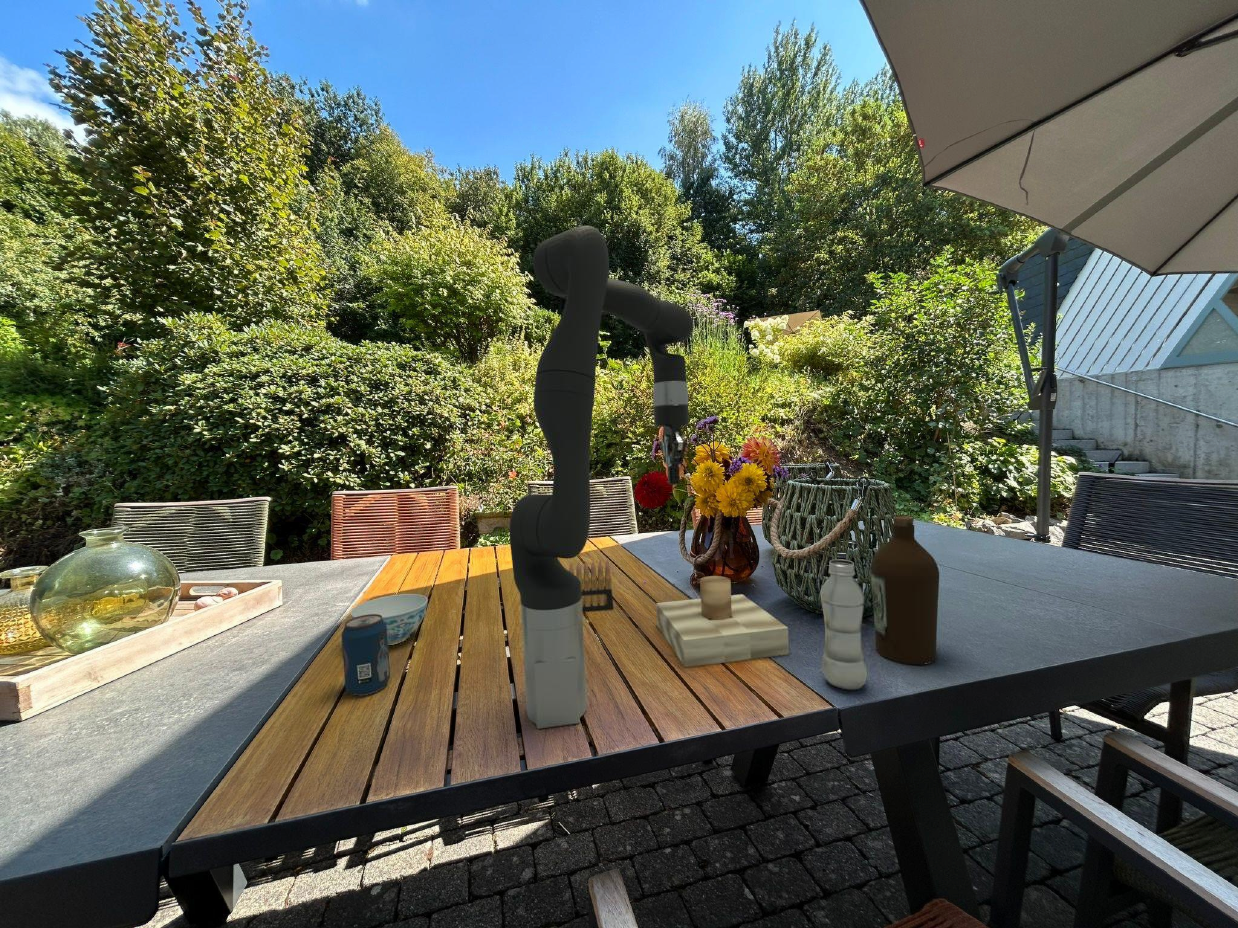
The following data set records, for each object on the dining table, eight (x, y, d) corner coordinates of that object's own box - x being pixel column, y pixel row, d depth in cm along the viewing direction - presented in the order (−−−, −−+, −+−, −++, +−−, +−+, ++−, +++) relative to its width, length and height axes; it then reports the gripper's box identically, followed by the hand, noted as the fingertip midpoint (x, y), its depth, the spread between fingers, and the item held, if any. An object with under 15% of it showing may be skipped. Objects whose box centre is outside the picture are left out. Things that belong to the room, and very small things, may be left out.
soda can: (349, 682, 85) (344, 616, 84) (392, 674, 87) (387, 610, 87) (342, 702, 79) (336, 630, 78) (388, 692, 81) (383, 623, 80)
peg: (737, 642, 94) (735, 583, 94) (708, 646, 93) (706, 585, 93) (725, 631, 100) (723, 574, 100) (698, 634, 99) (696, 577, 99)
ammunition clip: (612, 606, 118) (610, 559, 117) (613, 609, 116) (611, 560, 116) (569, 610, 117) (567, 561, 116) (569, 613, 115) (567, 563, 115)
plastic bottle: (842, 698, 73) (839, 569, 72) (813, 677, 80) (810, 559, 79) (877, 691, 75) (874, 565, 74) (845, 671, 81) (843, 555, 80)
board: (788, 654, 89) (788, 627, 88) (685, 667, 85) (683, 639, 85) (743, 615, 108) (742, 594, 108) (657, 625, 105) (656, 603, 105)
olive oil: (929, 643, 90) (927, 512, 89) (949, 670, 80) (948, 522, 79) (867, 639, 94) (864, 512, 92) (878, 663, 83) (876, 522, 82)
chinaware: (429, 646, 99) (427, 610, 99) (347, 661, 94) (344, 623, 93) (429, 622, 113) (427, 590, 113) (358, 634, 108) (355, 600, 107)
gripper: (647, 407, 109) (650, 482, 110) (661, 402, 96) (665, 487, 97) (678, 406, 110) (681, 480, 111) (697, 401, 97) (700, 485, 98)
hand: (674, 483), depth 104 cm, fingers closed
